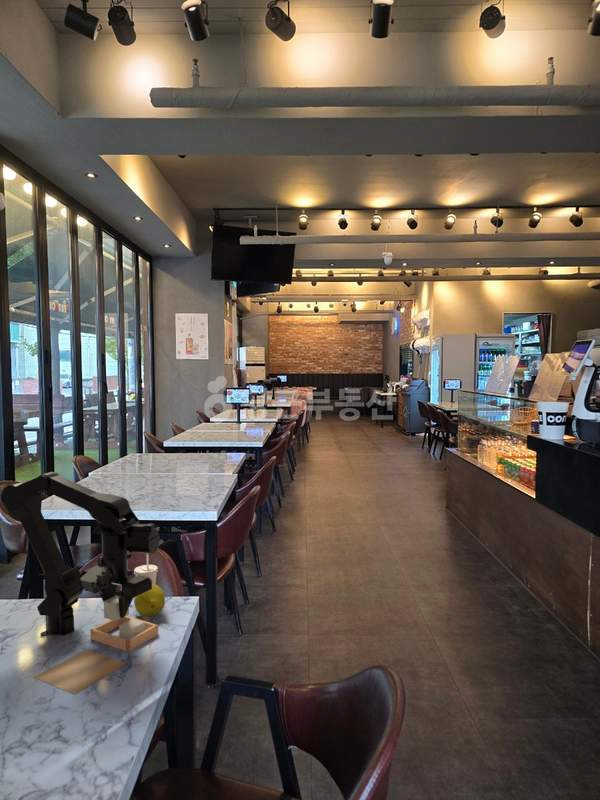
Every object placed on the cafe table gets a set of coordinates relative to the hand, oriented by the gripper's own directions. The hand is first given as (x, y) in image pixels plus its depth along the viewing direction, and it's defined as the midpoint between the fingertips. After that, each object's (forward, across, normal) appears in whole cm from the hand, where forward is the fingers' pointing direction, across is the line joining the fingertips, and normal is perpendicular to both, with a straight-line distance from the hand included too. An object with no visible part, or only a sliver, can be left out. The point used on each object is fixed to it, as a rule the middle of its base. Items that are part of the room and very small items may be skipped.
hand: (116, 615), depth 130 cm
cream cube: (+5, +5, 0) cm, 7 cm away
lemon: (+6, -2, +13) cm, 14 cm away
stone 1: (0, 0, 0) cm, 0 cm away
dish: (+6, +3, 0) cm, 6 cm away
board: (+6, +6, -15) cm, 17 cm away
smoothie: (+6, -9, +18) cm, 21 cm away
